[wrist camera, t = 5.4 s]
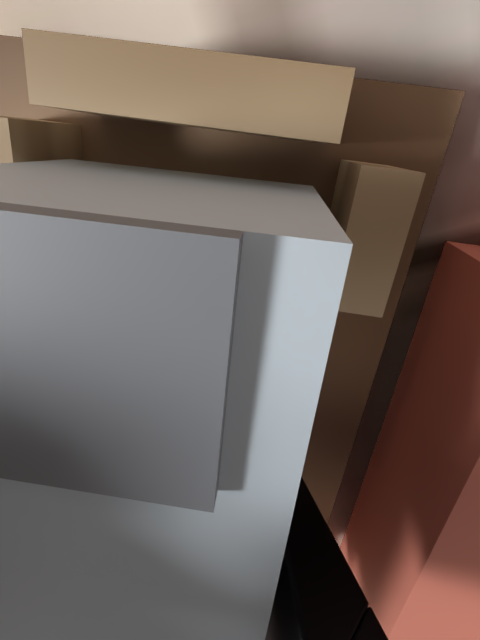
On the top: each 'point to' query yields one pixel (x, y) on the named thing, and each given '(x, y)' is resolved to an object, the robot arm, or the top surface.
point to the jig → (253, 166)
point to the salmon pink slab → (428, 473)
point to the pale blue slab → (155, 395)
